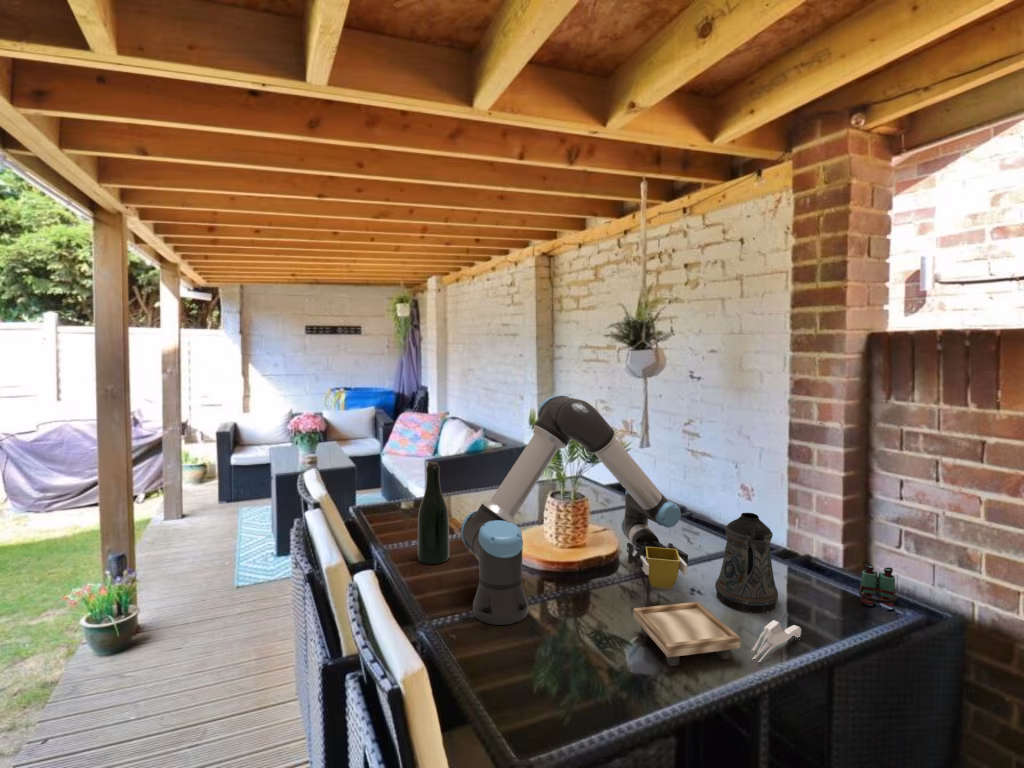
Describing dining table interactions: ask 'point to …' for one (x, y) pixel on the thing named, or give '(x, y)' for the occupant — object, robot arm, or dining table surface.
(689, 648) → the plant caddy
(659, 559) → the flower pot
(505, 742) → the dining table surface
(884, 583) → the binoculars
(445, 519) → the dark green wine bottle
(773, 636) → the llama figurine
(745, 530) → the beer stein
